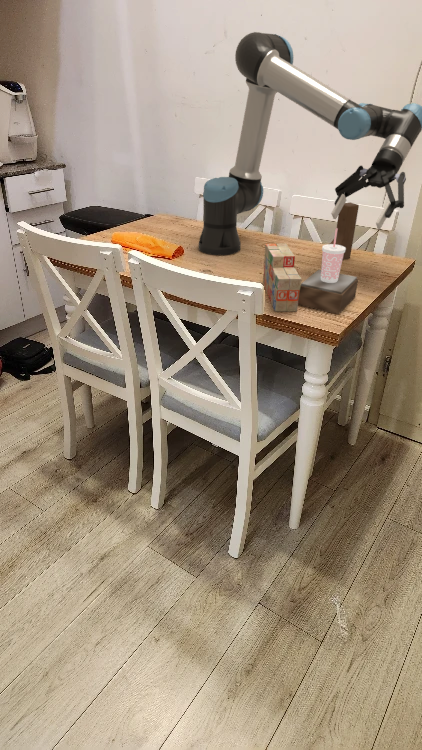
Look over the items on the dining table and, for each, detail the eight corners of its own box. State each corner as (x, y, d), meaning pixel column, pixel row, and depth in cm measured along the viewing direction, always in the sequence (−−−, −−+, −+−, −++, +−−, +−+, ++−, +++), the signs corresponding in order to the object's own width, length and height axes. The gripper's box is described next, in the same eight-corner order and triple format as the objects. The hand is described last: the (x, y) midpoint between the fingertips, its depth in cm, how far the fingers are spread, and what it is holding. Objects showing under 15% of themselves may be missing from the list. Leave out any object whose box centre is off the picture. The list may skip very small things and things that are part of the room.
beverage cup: (313, 279, 132) (320, 228, 125) (325, 274, 136) (332, 224, 129) (333, 285, 129) (341, 233, 121) (344, 279, 133) (353, 228, 125)
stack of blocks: (297, 311, 129) (302, 267, 123) (274, 312, 129) (278, 267, 122) (282, 282, 147) (286, 242, 141) (262, 282, 147) (265, 242, 140)
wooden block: (329, 262, 163) (337, 207, 154) (321, 258, 167) (328, 204, 157) (350, 258, 167) (359, 204, 157) (341, 255, 170) (350, 201, 161)
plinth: (296, 304, 133) (299, 283, 130) (315, 288, 143) (317, 268, 140) (339, 314, 128) (342, 293, 125) (355, 296, 138) (358, 276, 135)
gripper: (436, 172, 132) (399, 238, 130) (353, 160, 146) (319, 220, 144) (434, 153, 126) (396, 222, 124) (347, 142, 139) (312, 204, 138)
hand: (355, 221), depth 134 cm, fingers open, 13 cm apart
